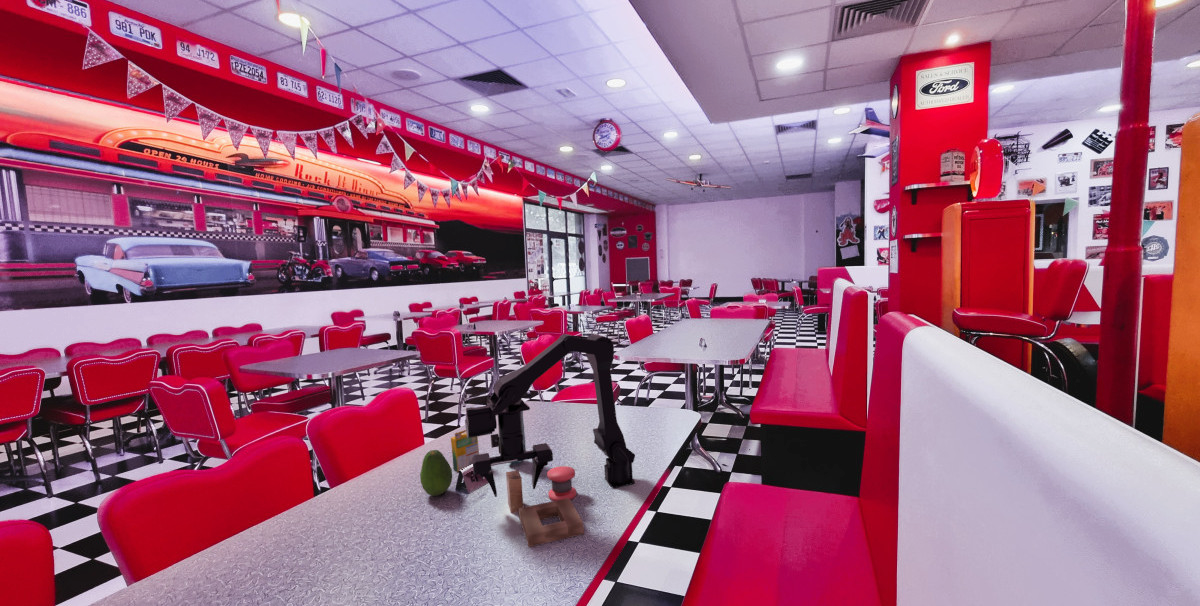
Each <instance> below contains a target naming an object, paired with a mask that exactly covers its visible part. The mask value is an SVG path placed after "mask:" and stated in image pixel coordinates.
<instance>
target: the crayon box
mask: <svg viewBox="0 0 1200 606" xmlns="http://www.w3.org/2000/svg"><path fill="white" fill-rule="evenodd" d="M478 439H479V436H477V437H472V438H467V434H466V429H465V430H464V429H463V430H461V431H458V432H455V433H454V436H453V437H450V443H451V454H452V466H453V467H452V468H453V470H454V471H455V472H458V471H459V470H460V469H462V468H464V467H467V466H469V465H471V464H472V458H473V456H474V455H479V454H480V451H479V440H478ZM458 473H459V472H458Z"/></svg>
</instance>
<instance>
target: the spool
mask: <svg viewBox="0 0 1200 606" xmlns="http://www.w3.org/2000/svg"><path fill="white" fill-rule="evenodd" d="M546 475H547V479H548V480H549V481H551V489H550V490H549V491H548V492H547V493H548V498H549V500H550V501H551V502H552V501H557V500H561V499H566V498H569V499H570V501H572V500H573V499H575V498H576V496H577V489H576V488H575V487H573V485H572V483H573V481H572V480H573V478H574V477H575V475H576V471H575V468H574V467H571V466H566V465H565V466H564V465H563V466H562V465H561V466H556V467H553V468H551V469H549V470H548V471H547V472H546Z"/></svg>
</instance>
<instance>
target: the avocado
mask: <svg viewBox="0 0 1200 606" xmlns="http://www.w3.org/2000/svg"><path fill="white" fill-rule="evenodd" d="M419 476H420V477H419V478H420V479H419V480H420V484H421V486H422V489H423V491H424V492H425V493H426V494H427V495H429V496H432V497H436V496H440V495H442V494H444V493H446V491H448V490H449V488H450V486H451V484H452V480H453V470H452V467H451V465H450V463H449V462H448V460H447V459H446V457H445V456H444V454H443V453H442V452H441V451H440V450H438V449H432V450H429V451H428V452H426V453H425V455H424V457H423V459H422V463H421V470H420V474H419Z"/></svg>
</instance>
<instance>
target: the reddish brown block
mask: <svg viewBox="0 0 1200 606" xmlns="http://www.w3.org/2000/svg"><path fill="white" fill-rule="evenodd" d="M505 475H506V476H505V477H506V492H507V493H506V494H507V505H508V507H509V510H510V514H514V513H519V508H523V507H524V500H523V499H524V495H523V482H522V481H523V480H522V476H521V474H520V471H519V469H516V470H511V471H510V470H509V471H506V472H505Z"/></svg>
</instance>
